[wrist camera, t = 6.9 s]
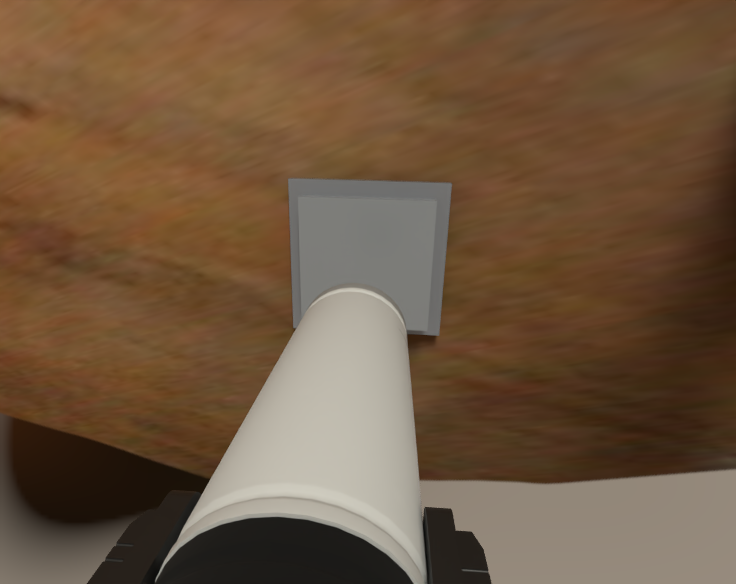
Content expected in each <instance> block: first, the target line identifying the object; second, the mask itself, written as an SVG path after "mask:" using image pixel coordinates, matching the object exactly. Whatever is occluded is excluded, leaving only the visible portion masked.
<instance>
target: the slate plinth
mask: <svg viewBox="0 0 736 584" xmlns="http://www.w3.org/2000/svg"><path fill="white" fill-rule="evenodd" d="M288 187H289V216H290V244H291V273H292V302H293V328H297V327H298V325H299V323H300V321H301V319H302V318H303V316H304V314H305V312H306V311H307V309H308V307H309V306H310V304H311V303H312V302H313V300H314V299H315V298H316V297H317V296H318V295H320V294H321V293H322V292H323V291H325V290H327V289H329V288H331V287H333V286H337V285H340V284H346V283H360V284H366V285H369V286H373V287H375V288H377V289H379V290H381V291H383V292H384V293H385V294H387V295H388V296H389V297H391V298H392V300H393V301H394V302H395V303H396V304H397V305H398V307H399V309H400V310H401V312H402V314H403V317H404V320H405V323H406V332H407V334H418V335H437V336H439V329H440V317H441V305H442V294H443V282H444V270H445V258H446V247H447V235H448V223H449V211H450V199H451V188H452V183H450V182H421V181H387V180H353V179H319V178H288Z"/></svg>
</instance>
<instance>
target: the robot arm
mask: <svg viewBox="0 0 736 584" xmlns="http://www.w3.org/2000/svg"><path fill="white" fill-rule="evenodd" d="M200 497H201V494H200V492H193V491H177V490H172V491H170V492H169V493H168V495H167V496H166V498H165V499H164V500H163V502H162V503H161V505H160V506H159V508H158V509H157V510H147V511H146V512H145V513H143V514H142V515H141V516H140V517H138V518H137V519H136V520H135V521H133V522H132V523H131V524H130V525H129V526H128V528H127V529H126V530H125V532H124V533H123V535H122V536H121V537H120V539H119V540H118V541H117V544H116V546H114V547H113V548H112V550H111V551H110V553H109V554H108V555H107V557H106V560H105V562H102V564H101V565H100V566H99V568H98V569H97V571H96V572H95V573H94V575H93V576H92V578H91V579H90V580H89V582H88V583H87V584H155V580H156V578H157V575H158V573H159V571H160V569H161V567H162V565H163V562H164V560H165V559H166V557H167V555H168V553H169V552H170V550H171V548H172V547H173V545H174V544H175V543H176V542H177V540H178V538H179V535H180V533H181V531H182V529H183V527H184V525H185V524H186V522H187V520H188V518H189V516H190V515H191V513H192V511H193V509H194V508H195V506H196V504H197V502H198V501H199V499H200ZM423 532H424V543H425V555H426V567H427V579H428V584H491V580H490V575H489V573H488V567H487V562H486V559H485V554H484V550H483V548H482V547H481V545H480V543H479V542H478V540H477V539H476V538H475V536H474V534H473V533H472V532H467V531H455V525H454V519H453V513H452V510H451V509H446V508H432V507H425V508H424V517H423Z"/></svg>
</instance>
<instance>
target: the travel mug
mask: <svg viewBox="0 0 736 584" xmlns="http://www.w3.org/2000/svg"><path fill="white" fill-rule="evenodd" d="M155 584H428V579H427V567H426V555H425V543H424V532H423V519H422V507H421V496H420V484H419V472H418V460H417V448H416V437H415V425H414V413H413V401H412V390H411V378H410V366H409V355H408V343H407V332H406V323H405V320H404V317H403V314H402V312H401V310H400V309H399V307H398V305H397V304H396V303H395V302H394V301H393V300H392V298H391V297H389V296H388V295H387V294H385V293H384V292H383V291H381V290H379V289H377V288H375V287H373V286H369V285H366V284H360V283H346V284H340V285H337V286H333V287H331V288H329V289H327V290H325V291H323V292H322V293H321V294H320V295H318V296H317V297H316V298H315V299H314V300H313V302H312V303H311V304H310V306H309V307H308V309H307V311H306V312H305V314H304V316H303V318H302V319H301V321H300V323H299V325H298V327H297V328H296V330H295V332H294V334H293V335H292V337H291V339H290V341H289V342H288V344H287V346H286V348H285V349H284V351H283V353H282V355H281V356H280V358H279V360H278V362H277V363H276V365H275V367H274V369H273V370H272V372H271V374H270V376H269V378H268V379H267V381H266V383H265V385H264V386H263V388H262V390H261V392H260V393H259V395H258V397H257V399H256V400H255V402H254V404H253V406H252V407H251V409H250V411H249V413H248V414H247V416H246V418H245V420H244V421H243V423H242V425H241V427H240V429H239V430H238V432H237V434H236V436H235V437H234V439H233V441H232V443H231V444H230V446H229V448H228V450H227V451H226V453H225V455H224V457H223V458H222V460H221V462H220V464H219V465H218V467H217V469H216V471H215V473H214V474H213V476H212V478H211V480H210V481H209V483H208V485H207V487H206V488H205V490H204V492H203V494H202V495H201V497H200V499H199V501H198V502H197V504H196V506H195V508H194V509H193V511H192V513H191V515H190V516H189V518H188V520H187V522H186V524H185V525H184V527H183V529H182V531H181V533H180V535H179V538H178V540H177V542H176V543H175V544H174V545H173V547H172V548H171V550H170V552H169V553H168V555H167V557H166V559H165V560H164V562H163V565H162V567H161V569H160V571H159V573H158V575H157V578H156V580H155Z"/></svg>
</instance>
